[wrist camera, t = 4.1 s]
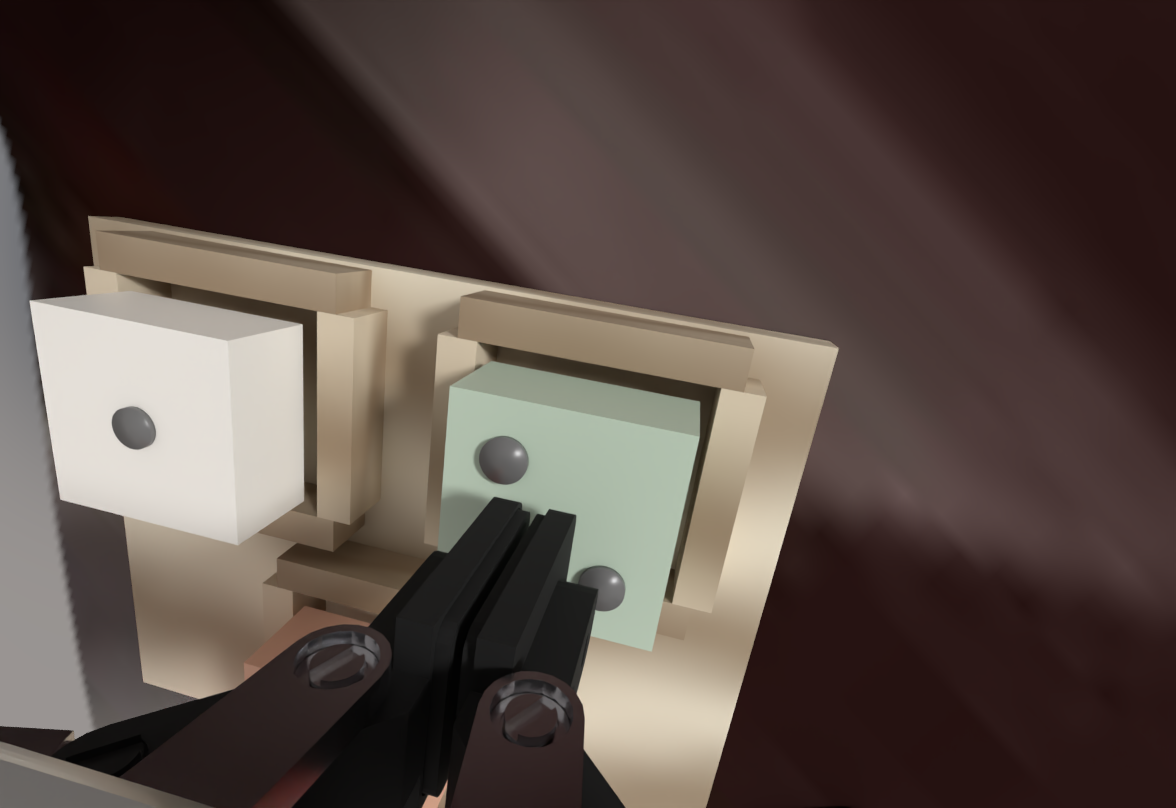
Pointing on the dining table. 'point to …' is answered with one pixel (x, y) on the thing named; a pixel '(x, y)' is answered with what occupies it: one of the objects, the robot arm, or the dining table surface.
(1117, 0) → the dining table surface
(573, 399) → the tile
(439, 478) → the board
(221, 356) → the white square block
